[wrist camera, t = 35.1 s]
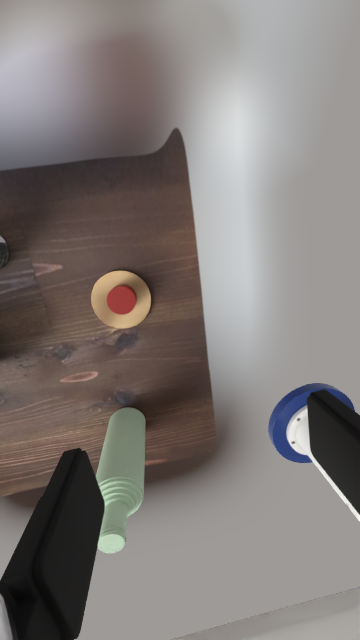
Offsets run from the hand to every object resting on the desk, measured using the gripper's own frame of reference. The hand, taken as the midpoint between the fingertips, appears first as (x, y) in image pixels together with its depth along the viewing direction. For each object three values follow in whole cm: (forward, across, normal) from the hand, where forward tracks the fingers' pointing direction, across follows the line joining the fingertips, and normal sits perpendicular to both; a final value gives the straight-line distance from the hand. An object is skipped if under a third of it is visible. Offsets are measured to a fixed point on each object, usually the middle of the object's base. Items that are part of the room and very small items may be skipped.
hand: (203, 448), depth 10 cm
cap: (+29, +6, -3) cm, 30 cm away
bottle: (+30, +12, +19) cm, 38 cm away
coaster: (+30, +7, -3) cm, 31 cm away
